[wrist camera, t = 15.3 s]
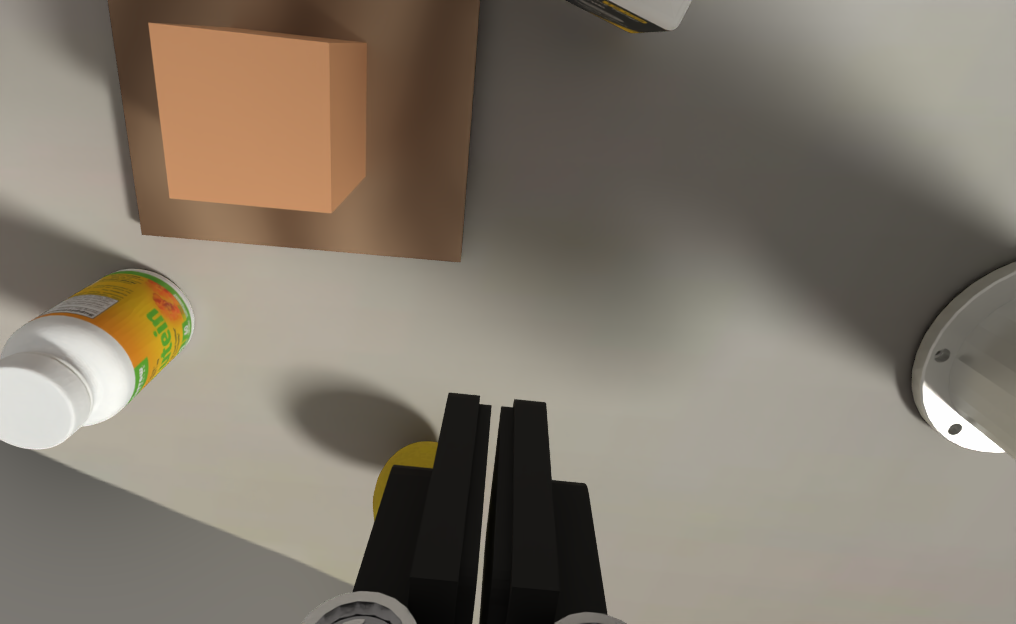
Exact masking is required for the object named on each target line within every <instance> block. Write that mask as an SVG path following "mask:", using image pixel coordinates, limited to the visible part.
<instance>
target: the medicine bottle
mask: <svg viewBox="0 0 1016 624" xmlns="http://www.w3.org/2000/svg"><path fill="white" fill-rule="evenodd" d="M566 1H568V2H570V3H572V4H574V5H576V6H578V7H580V8H582V9H584V10H586V11H588V12H590V13H592V14H594V15H596V16H598V17H600V18H602V19H604V20H605V21H607V22H609V23H611V24H613V25H615V26H617V27H619V28H621V29H623V30H625V31H627V32H629V33H645V32H659V31H671V30H674V29H676V28H677V27H678V26H679V25H680V23H681V21H682V19H683V17H684V15H685V13H686V11H687V9H688V7H689V5H690V3H691V1H692V0H566Z"/></svg>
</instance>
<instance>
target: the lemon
mask: <svg viewBox="0 0 1016 624" xmlns="http://www.w3.org/2000/svg"><path fill="white" fill-rule="evenodd" d="M437 446H438V443H437V442H431V441H423V442H416V443H413V444H409V445H408V446H406V447H404V448H402V449H400V450H399V451H397V452H396V453H395V454H394V455H393V456H392V457H391V458H390V459H389V460H388V461H387V463H386V465H385V466H384V468H383V469H382V471H381V473H380V475H379V477H378V480H377V483H376V487H375V491H374V496H373V512H374V522H375V518H376V515H377V512H378V509H379V506H380V502H381V499H382V496H383V493H384V490H385V486H386V483H387V480H388V477H389V474H390V471H391V468H392V466H393V465H404V466H414V467H424V468H433V465H434V460H435V455H436V450H437Z"/></svg>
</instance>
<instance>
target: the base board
mask: <svg viewBox="0 0 1016 624" xmlns="http://www.w3.org/2000/svg"><path fill="white" fill-rule="evenodd" d="M108 6H109V13H110V20H111V27H112V34H113V40H114V47H115V54H116V61H117V68H118V75H119V81H120V88H121V95H122V102H123V109H124V116H125V122H126V129H127V136H128V143H129V150H130V157H131V163H132V170H133V177H134V184H135V191H136V198H137V204H138V211H139V218H140V225H141V232H142V235H152V236H163V237H175V238H186V239H198V240H209V241H221V242H232V243H244V244H255V245H267V246H278V247H290V248H301V249H313V250H324V251H336V252H347V253H359V254H370V255H382V256H393V257H405V258H416V259H428V260H439V261H451V262H461V253H462V239H463V226H464V212H465V199H466V185H467V172H468V158H469V145H470V131H471V118H472V104H473V91H474V77H475V64H476V50H477V37H478V23H479V10H480V0H108ZM148 23H164V24H181V25H198V26H215V27H231V28H240V29H249V30H258V31H267V32H275V33H284V34H293V35H302V36H311V37H320V38H329V39H338V40H347V41H356V42H364V43H367V92H366V177H365V178H364V179H363V180H362V181H361V182H360V183H359V184H358V185H357V186H356V188H355V189H354V190H353V191H352V192H351V193H350V194H349V195H348V196H347V197H346V198H345V199H344V200H343V202H342V203H341V204H340V205H339V206H338V207H337V208H336V209H335V210H334V211H333V212H332V213H320V212H310V211H299V210H288V209H278V208H267V207H256V206H246V205H235V204H224V203H214V202H203V201H192V200H181V199H171V198H169V189H168V181H167V173H166V165H165V157H164V148H163V140H162V132H161V124H160V115H159V107H158V99H157V91H156V82H155V74H154V66H153V58H152V50H151V41H150V33H149V25H148Z"/></svg>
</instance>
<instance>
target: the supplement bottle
mask: <svg viewBox="0 0 1016 624" xmlns="http://www.w3.org/2000/svg"><path fill="white" fill-rule="evenodd" d="M193 331H194V314H193V310H192V307H191V305H190V303H189V301H188V299H187V298H186V296H185V295H184V293H183V292H182V291H181V290H180V289H179V288H178V287H177V286H176V285H175V284H174V283H172V282H171V281H170V280H168V279H167V278H165V277H163V276H161V275H159V274H157V273H154V272H151V271H147V270H142V269H123V270H119V271H116V272H113V273H111V274H109V275H107V276H105V277H103V278H101V279H99V280H98V281H96V282H94V283H93V284H91V285H89V286H87V287H86V288H84V289H83V290H81V291H79V292H78V293H76V294H74V295H73V296H71V297H69V298H68V299H66V300H64V301H63V302H61V303H59V304H58V305H56V306H55V307H53V308H51V309H50V310H48V311H46V312H45V313H43V314H41V315H40V316H38V317H36V318H35V319H33V320H31V321H30V322H28V323H26V324H25V325H23V326H22V327H21V328H19V329H18V330H17V331H15V332H14V333H13V334H12V335H11V337H10V338H9V339H8V340H7V342H6V344H5V345H4V348H3V350H2V354H1V360H0V440H2V441H4V442H6V443H9V444H11V445H14V446H17V447H21V448H26V449H46V448H50V447H54V446H56V445H58V444H60V443H62V442H64V441H65V440H66V439H67V438H69V437H70V436H71V435H72V434H73V433H74V432H76V431H77V430H78V429H79V428H80V427H81V426H89V425H93V424H97V423H100V422H103V421H105V420H107V419H109V418H111V417H113V416H114V415H115V414H117V413H118V412H119V411H120V410H121V409H123V408H124V407H125V406H126V405H127V404H128V403H129V402H130V401H131V400H132V399H133V398H134V397H135V396H136V395H137V394H138V393H139V392H140V391H141V390H142V389H143V388H144V387H145V386H146V385H147V384H148V383H149V382H150V381H151V380H152V379H153V378H154V377H155V376H156V375H157V374H158V373H159V372H160V371H161V370H162V369H163V368H164V367H165V366H166V365H167V364H168V363H169V362H170V361H171V360H172V359H173V358H174V357H175V356H176V355H177V354H179V353H180V352H181V350H182V349H183V348H184V347H185V346H186V345H187V344H188V342H189V341H190V339H191V336H192V334H193Z"/></svg>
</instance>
